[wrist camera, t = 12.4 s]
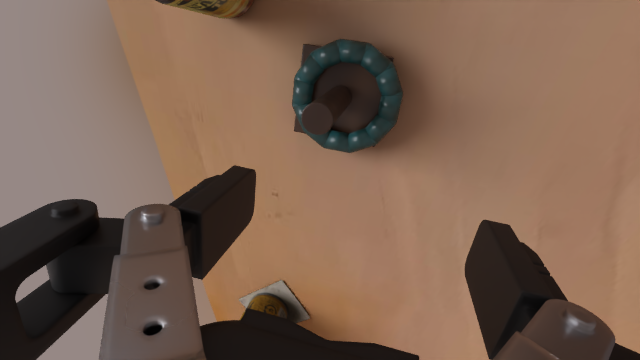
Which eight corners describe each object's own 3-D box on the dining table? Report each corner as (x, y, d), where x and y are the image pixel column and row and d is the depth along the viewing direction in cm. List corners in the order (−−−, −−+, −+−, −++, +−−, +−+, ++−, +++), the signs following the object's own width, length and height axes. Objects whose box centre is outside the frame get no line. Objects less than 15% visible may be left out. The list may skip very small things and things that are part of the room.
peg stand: (393, 57, 33) (392, 63, 22) (375, 143, 36) (366, 187, 25) (306, 43, 34) (262, 43, 23) (297, 128, 38) (255, 163, 26)
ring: (412, 49, 31) (413, 49, 29) (388, 156, 35) (387, 163, 33) (301, 33, 32) (296, 32, 31) (291, 138, 37) (286, 143, 35)
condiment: (239, 298, 50) (195, 369, 39) (281, 279, 47) (247, 350, 36) (267, 332, 51) (232, 410, 40) (310, 316, 48) (286, 395, 37)
